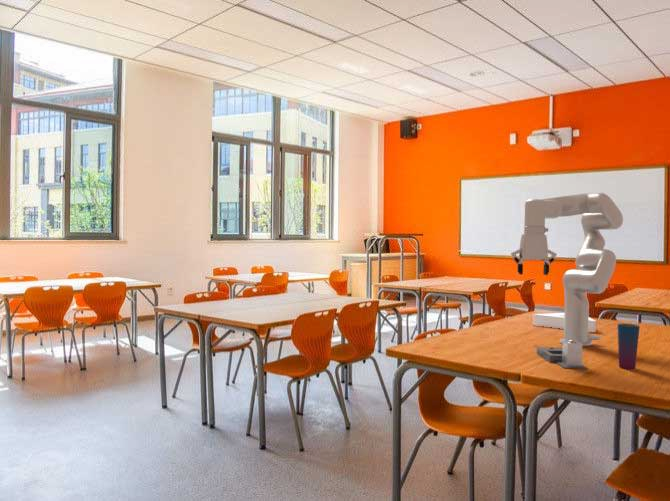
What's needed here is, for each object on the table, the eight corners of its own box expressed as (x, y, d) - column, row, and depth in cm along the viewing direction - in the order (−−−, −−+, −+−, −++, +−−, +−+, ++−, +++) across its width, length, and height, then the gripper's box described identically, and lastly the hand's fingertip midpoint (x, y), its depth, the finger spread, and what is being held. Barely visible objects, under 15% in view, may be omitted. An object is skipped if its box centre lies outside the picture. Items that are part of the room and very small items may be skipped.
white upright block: (576, 363, 198) (577, 339, 198) (581, 366, 193) (582, 342, 193) (561, 362, 198) (562, 338, 198) (567, 366, 193) (567, 341, 193)
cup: (612, 365, 198) (613, 323, 197) (630, 365, 198) (631, 323, 198) (623, 370, 191) (625, 326, 190) (642, 370, 191) (644, 326, 191)
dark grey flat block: (562, 354, 215) (563, 347, 215) (577, 363, 200) (578, 355, 200) (536, 353, 216) (536, 346, 216) (549, 362, 201) (549, 354, 201)
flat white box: (532, 326, 283) (533, 314, 283) (551, 321, 303) (551, 309, 303) (595, 334, 264) (596, 321, 264) (610, 327, 283) (611, 315, 283)
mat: (578, 363, 199) (578, 362, 199) (587, 369, 191) (587, 368, 191) (556, 363, 200) (556, 361, 200) (564, 368, 192) (564, 367, 192)
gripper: (553, 231, 222) (552, 274, 222) (509, 230, 222) (508, 273, 223) (560, 231, 214) (558, 275, 215) (514, 230, 215) (513, 274, 215)
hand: (533, 274), depth 219 cm, fingers open, 9 cm apart
